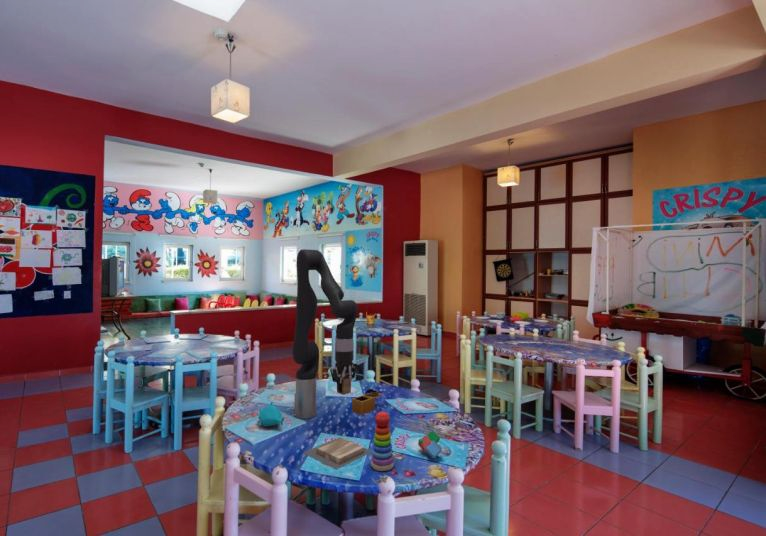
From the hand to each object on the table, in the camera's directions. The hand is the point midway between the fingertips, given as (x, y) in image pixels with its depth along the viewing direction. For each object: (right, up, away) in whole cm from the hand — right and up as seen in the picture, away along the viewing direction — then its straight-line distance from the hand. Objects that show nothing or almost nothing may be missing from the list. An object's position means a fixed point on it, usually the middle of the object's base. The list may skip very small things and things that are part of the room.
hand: (343, 390), depth 168 cm
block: (0, -1, 0) cm, 1 cm away
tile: (-4, -15, -17) cm, 23 cm away
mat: (0, -17, -20) cm, 26 cm away
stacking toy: (+16, -18, -29) cm, 37 cm away
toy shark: (-31, -17, +5) cm, 35 cm away
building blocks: (+34, -18, -18) cm, 43 cm away
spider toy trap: (+9, -17, +27) cm, 33 cm away
